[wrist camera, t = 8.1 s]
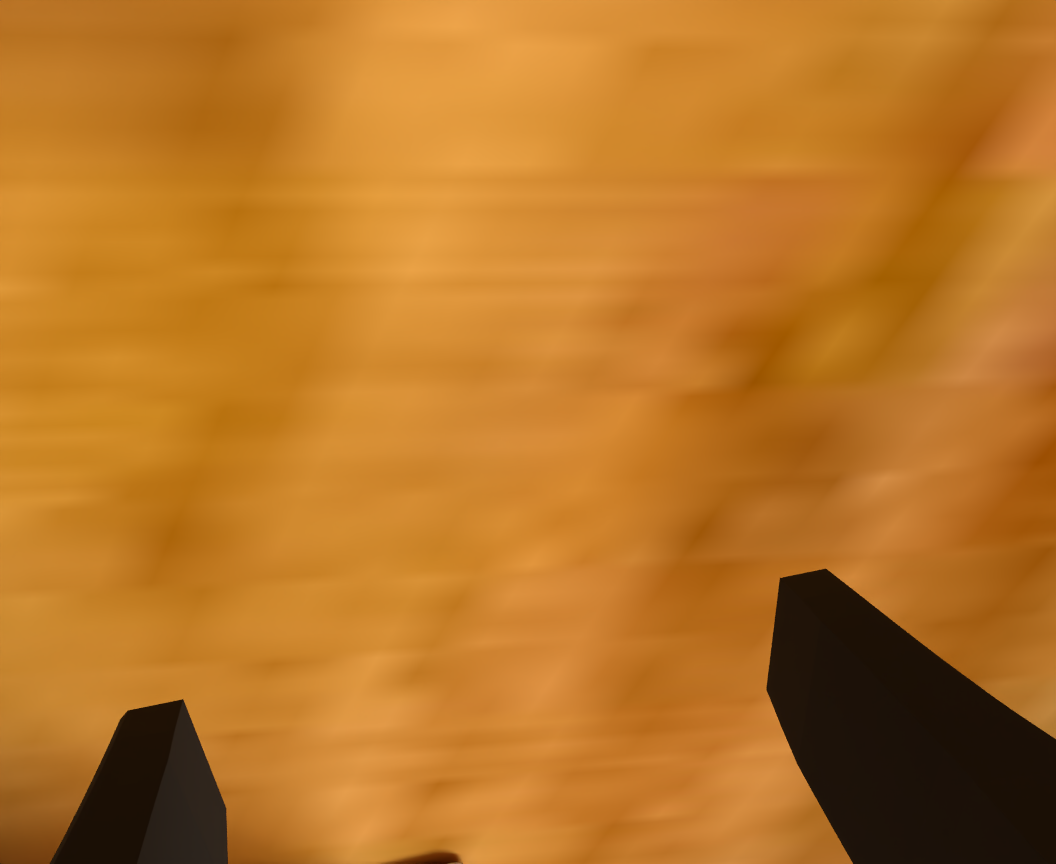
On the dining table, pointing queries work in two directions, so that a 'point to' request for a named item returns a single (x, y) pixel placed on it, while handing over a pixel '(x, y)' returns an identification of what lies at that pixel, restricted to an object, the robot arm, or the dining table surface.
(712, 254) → the dining table surface
